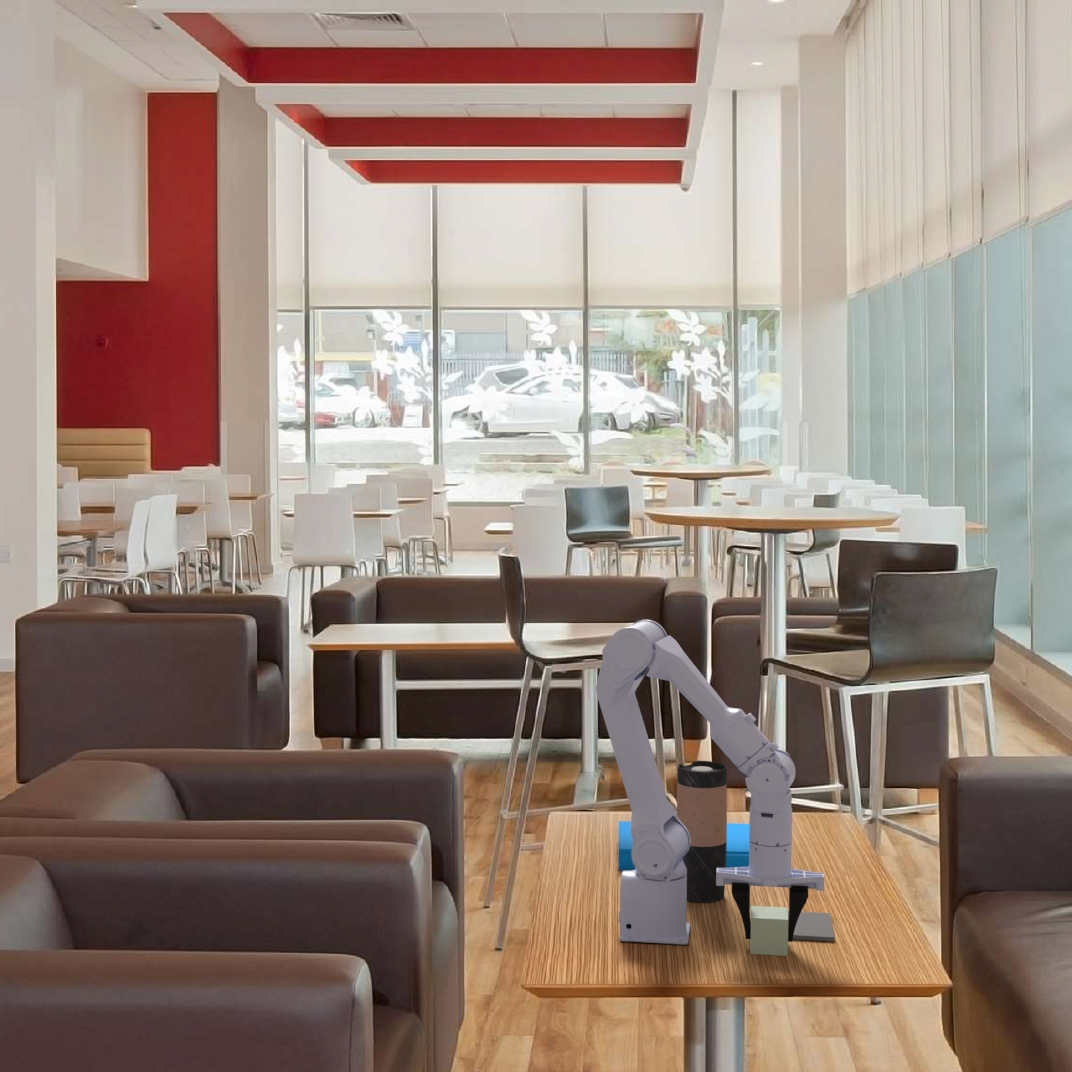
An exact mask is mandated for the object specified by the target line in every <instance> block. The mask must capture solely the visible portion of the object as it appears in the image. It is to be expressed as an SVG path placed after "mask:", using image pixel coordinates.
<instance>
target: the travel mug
mask: <svg viewBox="0 0 1072 1072" xmlns="http://www.w3.org/2000/svg"><path fill="white" fill-rule="evenodd" d="M676 775H677V776H676V777H677V779H676V781H677V783H676V785H677V787H676V791H677V792H676V793H677V794H676V813H677V816H678V818H679V820H680V821H681V822H682V823H683V824H684V825H685V827H686V828H687V830H688V832H689V834H690V839H691V844H690V848H689V850H688V852H687V854H686V855H685V856H684V857H682V858H683V862H684V864H685V866H686V868H687V902H691V903H700V904H703V903H704V904H705V903H714V902H715V903H716V902H719V901H722V899H724V897H725V891H726V890H725V888H726V887H725V886H726V884H724V886H716V869H717V868H726V846H727V842H726V841H727V823H728V822H727V821H728V819H727V818H728V816H727V815H728V807H727V805H728V804H727V803H728V799H727V798H728V796H727V795H728V768H727V765H725V764H724V763H720V762H716V761H711V760H695V761H692V762H691V763H690V764H687V765H683V764H682V762H681V763H679V764H678V765H677V774H676Z"/></svg>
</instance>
